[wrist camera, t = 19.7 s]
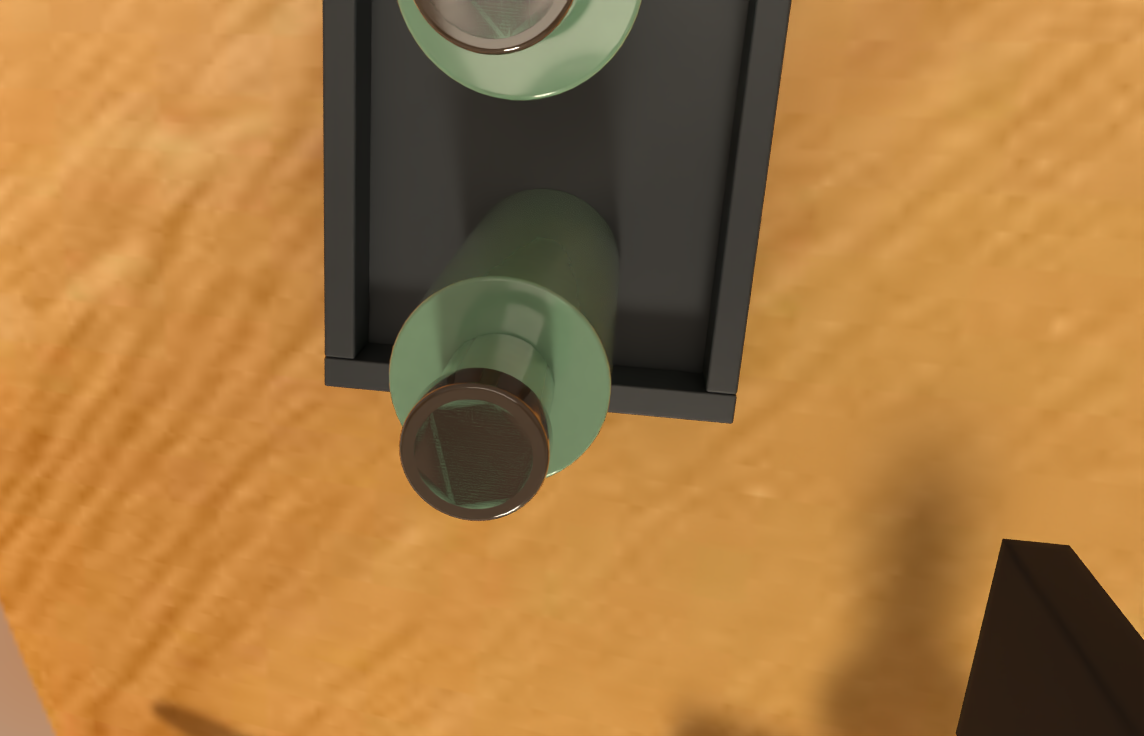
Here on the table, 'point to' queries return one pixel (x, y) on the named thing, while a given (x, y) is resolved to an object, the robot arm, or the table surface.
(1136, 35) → the table surface
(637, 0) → the tray bottle
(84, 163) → the table surface
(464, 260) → the loose bottle
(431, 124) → the tray
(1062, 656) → the robot arm
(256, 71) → the table surface
